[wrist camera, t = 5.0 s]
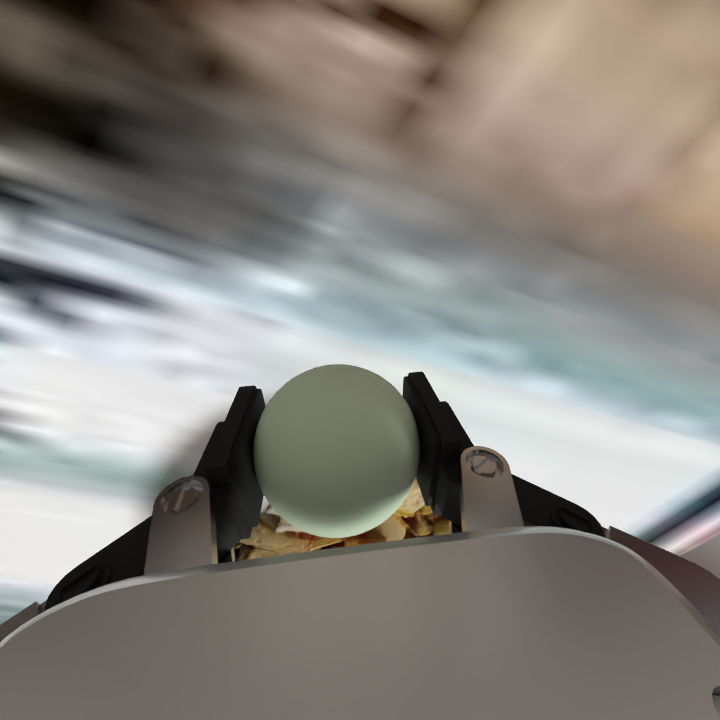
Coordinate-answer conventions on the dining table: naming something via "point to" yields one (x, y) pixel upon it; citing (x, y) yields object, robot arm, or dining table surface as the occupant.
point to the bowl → (287, 539)
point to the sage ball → (336, 451)
